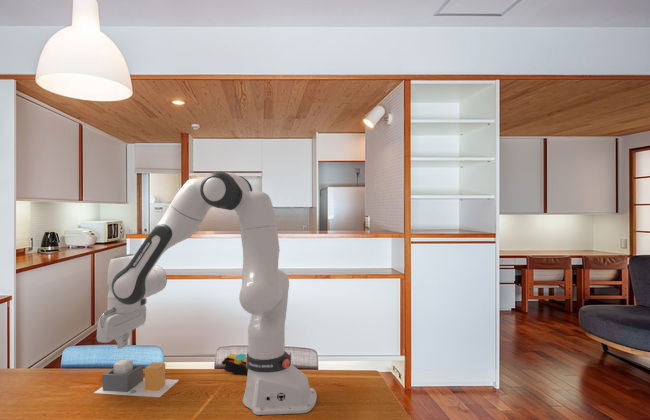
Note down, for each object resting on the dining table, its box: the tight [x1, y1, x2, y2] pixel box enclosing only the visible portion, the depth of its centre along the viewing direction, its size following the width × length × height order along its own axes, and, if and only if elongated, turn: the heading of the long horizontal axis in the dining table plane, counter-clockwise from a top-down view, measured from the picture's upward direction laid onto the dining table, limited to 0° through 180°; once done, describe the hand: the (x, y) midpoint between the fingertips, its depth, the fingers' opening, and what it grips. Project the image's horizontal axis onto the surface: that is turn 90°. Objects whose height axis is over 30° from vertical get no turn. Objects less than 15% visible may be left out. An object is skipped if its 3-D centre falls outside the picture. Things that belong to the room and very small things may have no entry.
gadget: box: [221, 352, 248, 376], centre depth 140 cm, size 6×13×6 cm, turn 78°
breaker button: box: [113, 359, 134, 375], centre depth 127 cm, size 4×4×4 cm
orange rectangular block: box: [144, 362, 166, 391], centre depth 126 cm, size 4×4×7 cm
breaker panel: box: [93, 364, 180, 398], centre depth 127 cm, size 22×12×6 cm, turn 83°
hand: (122, 346), depth 127 cm, fingers closed
